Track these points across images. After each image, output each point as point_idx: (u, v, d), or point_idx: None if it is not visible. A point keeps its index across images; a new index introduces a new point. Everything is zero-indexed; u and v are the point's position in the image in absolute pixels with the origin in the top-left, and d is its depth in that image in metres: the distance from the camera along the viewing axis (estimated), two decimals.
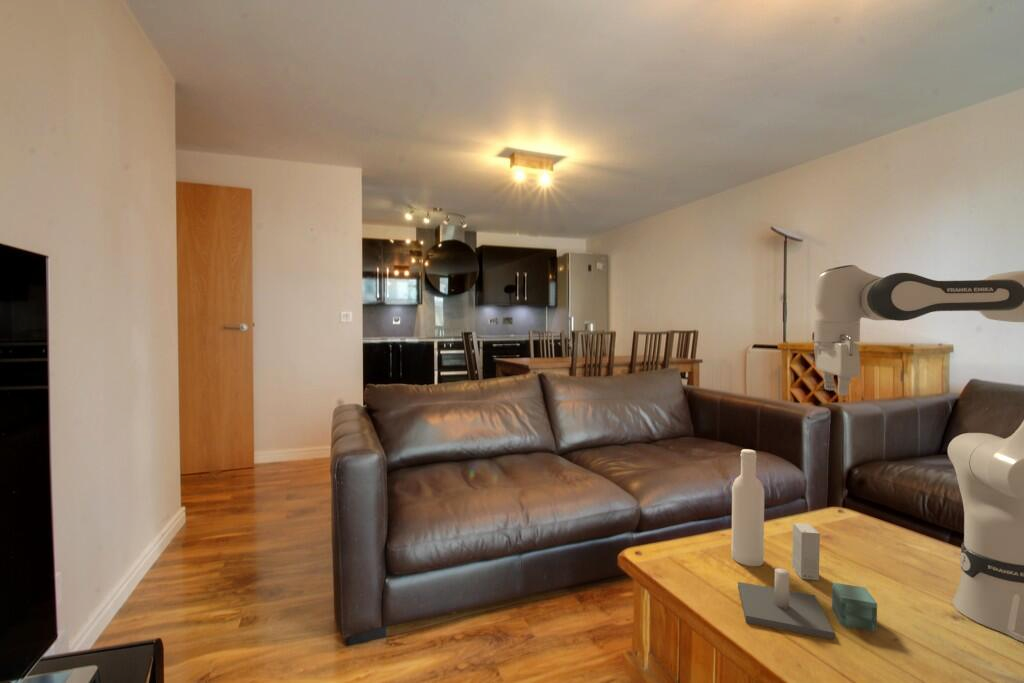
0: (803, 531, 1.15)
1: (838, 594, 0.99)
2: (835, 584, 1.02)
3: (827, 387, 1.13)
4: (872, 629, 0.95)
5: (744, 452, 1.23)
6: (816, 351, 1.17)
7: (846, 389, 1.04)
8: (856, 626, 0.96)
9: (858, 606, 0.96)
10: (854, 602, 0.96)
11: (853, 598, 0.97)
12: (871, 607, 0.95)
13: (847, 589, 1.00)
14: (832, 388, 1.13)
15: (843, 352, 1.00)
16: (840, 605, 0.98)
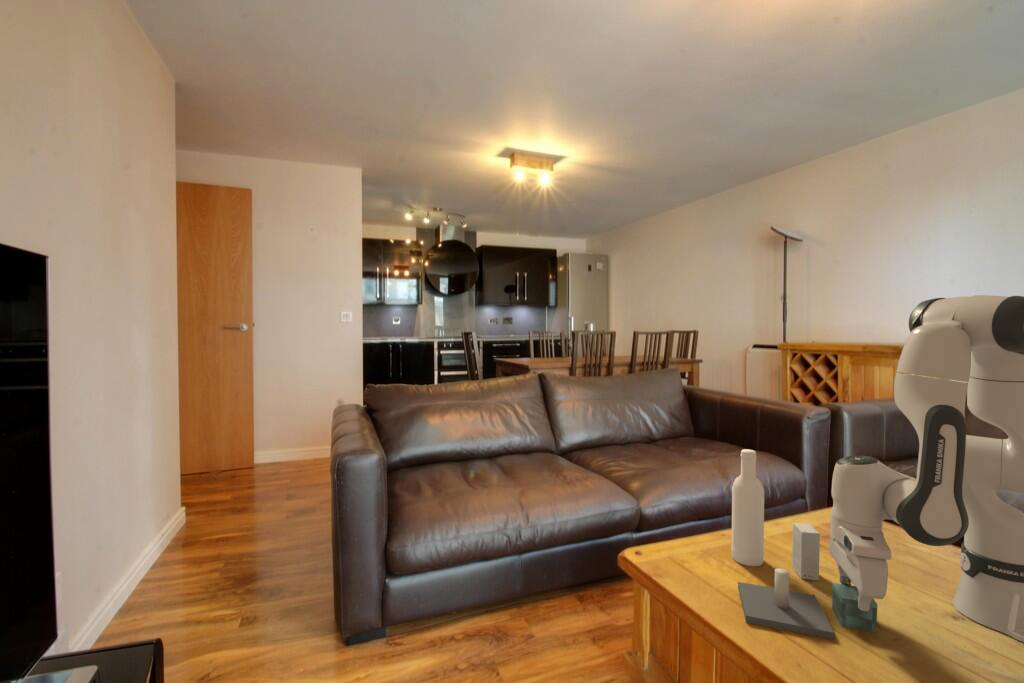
0: (803, 531, 1.15)
1: (838, 594, 0.99)
2: (835, 584, 1.02)
3: None
4: (872, 629, 0.95)
5: (744, 452, 1.23)
6: None
7: None
8: (856, 626, 0.96)
9: None
10: (854, 602, 0.96)
11: (853, 598, 0.97)
12: (871, 607, 0.95)
13: (847, 589, 1.00)
14: None
15: None
16: (840, 605, 0.98)
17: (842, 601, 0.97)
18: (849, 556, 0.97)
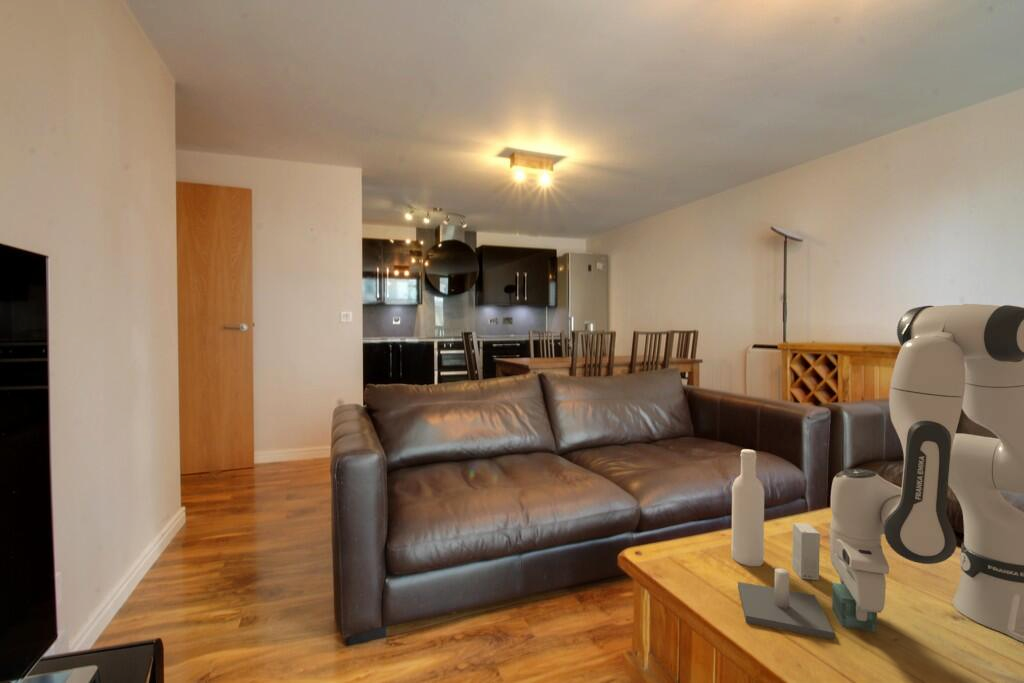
0: (803, 531, 1.15)
1: (838, 594, 0.99)
2: (835, 584, 1.02)
3: None
4: (872, 629, 0.95)
5: (744, 452, 1.23)
6: None
7: None
8: (856, 626, 0.96)
9: None
10: (854, 602, 0.96)
11: (853, 598, 0.97)
12: None
13: (847, 589, 1.00)
14: None
15: None
16: (840, 605, 0.97)
17: (842, 601, 0.97)
18: (848, 569, 0.98)
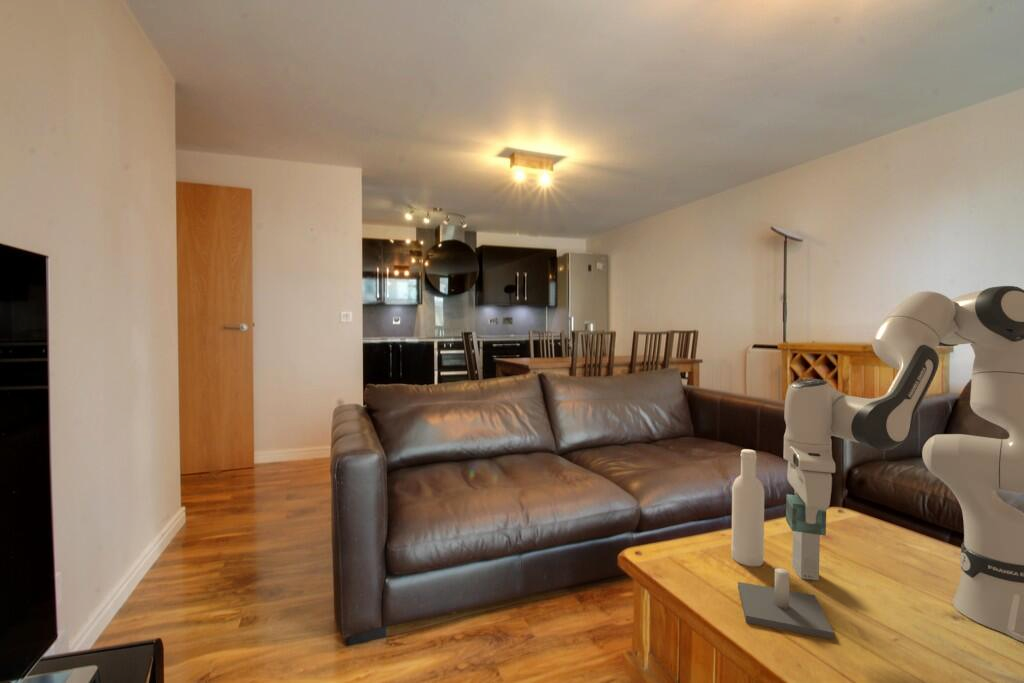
0: None
1: (790, 502, 1.01)
2: (789, 495, 1.04)
3: None
4: (821, 533, 0.97)
5: (744, 452, 1.23)
6: None
7: None
8: (806, 531, 0.98)
9: None
10: (804, 507, 0.98)
11: (804, 504, 0.98)
12: (821, 511, 0.97)
13: (800, 498, 1.02)
14: None
15: None
16: (791, 511, 0.99)
17: (793, 506, 0.99)
18: (800, 476, 0.99)
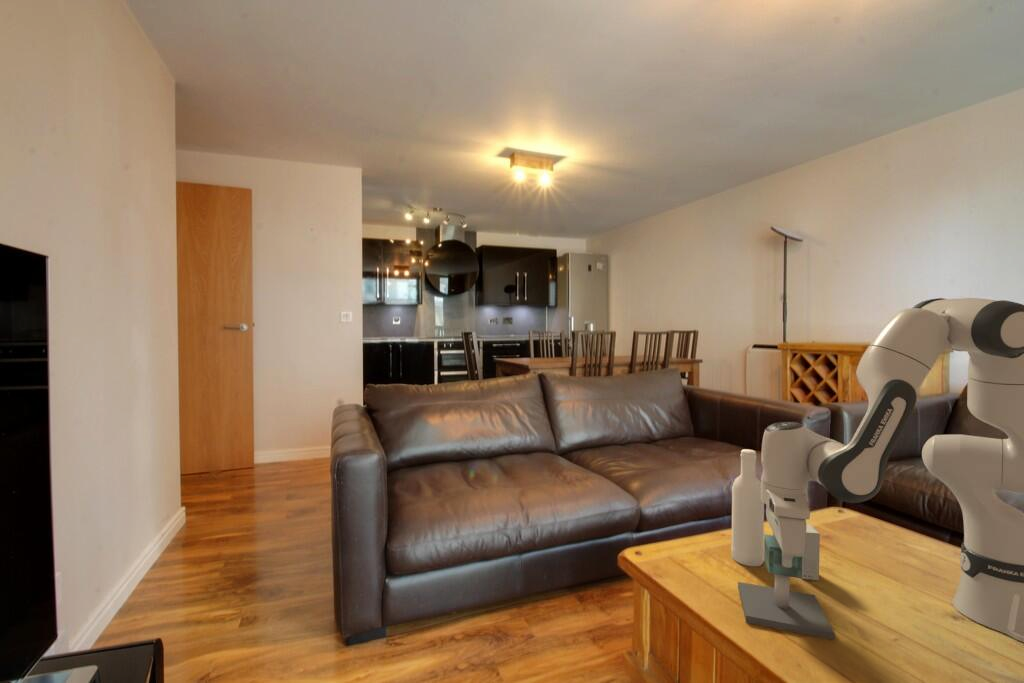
0: None
1: (767, 544, 1.01)
2: (766, 536, 1.04)
3: None
4: (798, 576, 0.98)
5: (744, 452, 1.23)
6: None
7: None
8: (783, 574, 0.99)
9: None
10: (781, 550, 0.99)
11: None
12: None
13: None
14: None
15: None
16: (768, 554, 1.00)
17: (770, 549, 1.00)
18: (776, 518, 1.00)
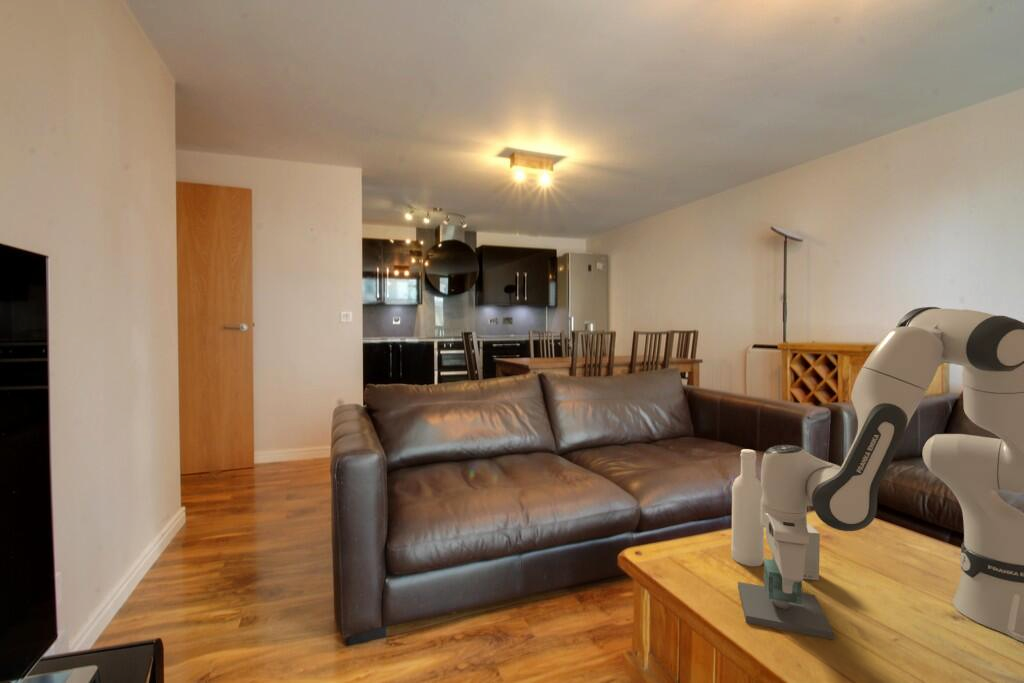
0: None
1: (767, 569, 1.02)
2: (766, 560, 1.05)
3: None
4: (797, 602, 0.98)
5: (744, 452, 1.23)
6: None
7: None
8: (782, 599, 0.99)
9: None
10: (781, 576, 0.99)
11: None
12: None
13: (776, 564, 1.03)
14: None
15: None
16: (768, 579, 1.00)
17: (769, 575, 1.00)
18: None
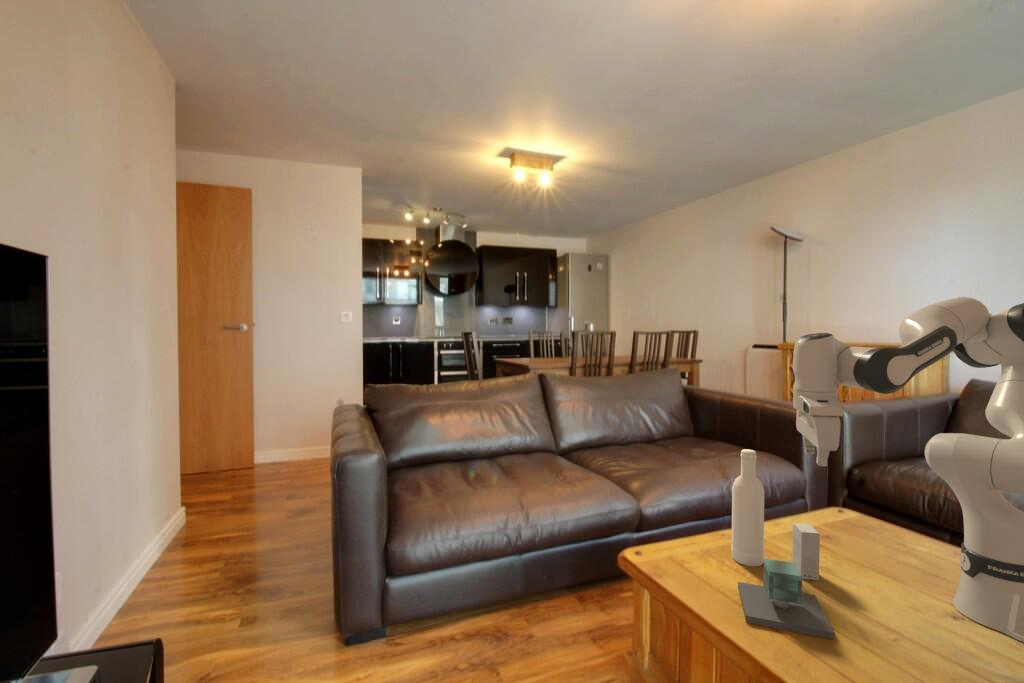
0: (803, 531, 1.15)
1: (767, 569, 1.02)
2: (766, 560, 1.05)
3: None
4: (798, 602, 0.98)
5: (744, 452, 1.23)
6: None
7: None
8: (783, 599, 0.99)
9: (785, 579, 0.99)
10: (781, 576, 0.99)
11: (780, 572, 0.99)
12: (797, 580, 0.98)
13: (776, 564, 1.03)
14: None
15: None
16: (768, 579, 1.00)
17: (770, 574, 1.00)
18: (809, 422, 1.08)
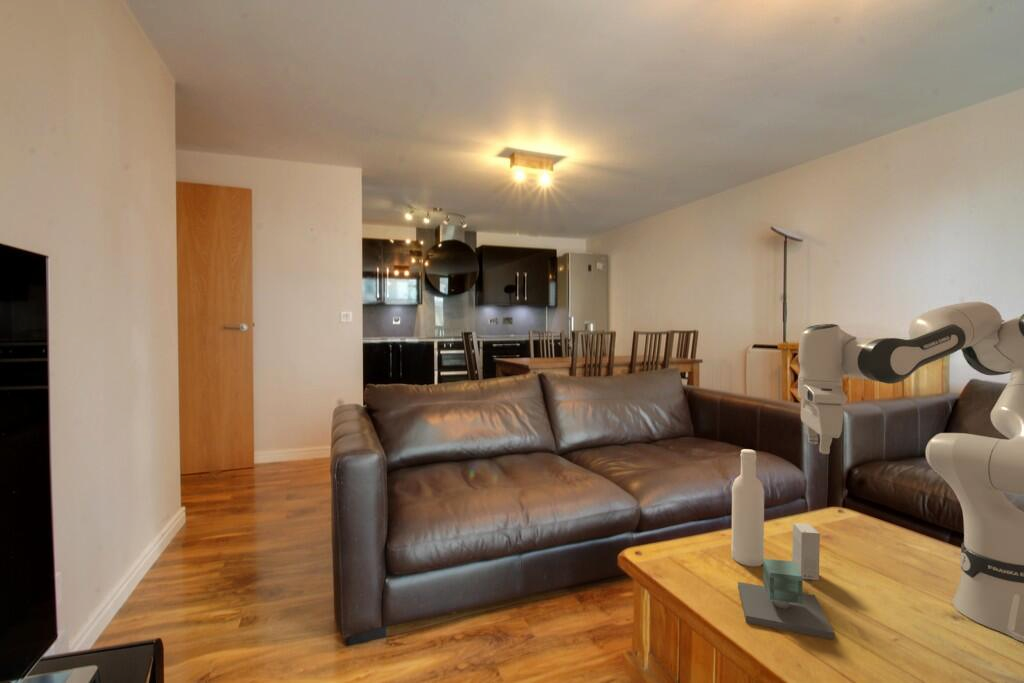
0: (803, 531, 1.15)
1: (767, 569, 1.02)
2: (765, 560, 1.05)
3: None
4: (798, 601, 0.98)
5: (744, 452, 1.23)
6: None
7: None
8: (784, 599, 0.99)
9: (785, 580, 0.99)
10: (781, 576, 0.99)
11: (781, 573, 0.99)
12: (797, 580, 0.98)
13: (776, 564, 1.03)
14: None
15: None
16: (769, 580, 1.00)
17: (770, 576, 1.00)
18: (813, 411, 1.09)
